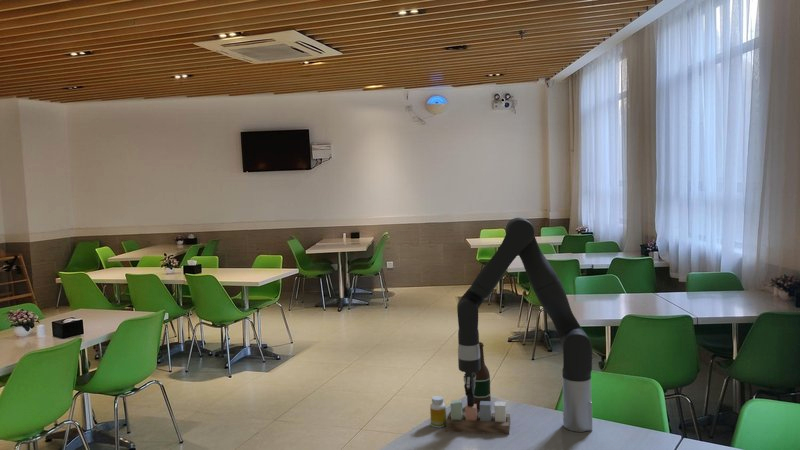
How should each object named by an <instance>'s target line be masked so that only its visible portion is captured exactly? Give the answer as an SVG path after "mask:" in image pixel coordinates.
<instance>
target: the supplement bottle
mask: <svg viewBox="0 0 800 450" xmlns="http://www.w3.org/2000/svg"><path fill="white" fill-rule="evenodd" d="M446 406H447V405H446V403H444V397H443V396H441V395H433V396H432V397H431V404H430V405H429V407H430V426H432V427H433V428H439V429H440V428H443V427H444V428H445V426H446V422H447V408H446Z"/></svg>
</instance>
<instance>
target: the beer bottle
mask: <svg viewBox="0 0 800 450" xmlns="http://www.w3.org/2000/svg"><path fill="white" fill-rule="evenodd" d="M479 347H480V365H481V369H480V370H479V371H477V372H474V374H476V379H475V382H476V386H475V390H474V391H475V393H474V404H477V410H480V401H491V398H492V397H491V375H490V370H489V368H488V367H487V365H486V364H485V356H484V343H483V342H481V341H479ZM491 402H492V401H491Z"/></svg>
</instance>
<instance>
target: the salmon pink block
mask: <svg viewBox="0 0 800 450" xmlns="http://www.w3.org/2000/svg"><path fill="white" fill-rule="evenodd" d="M464 412H465V420H469V421H477V413H478V409H477V404H474V406H468V405H467V403H466V404H465V407H464Z"/></svg>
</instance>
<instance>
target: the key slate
mask: <svg viewBox="0 0 800 450" xmlns="http://www.w3.org/2000/svg"><path fill="white" fill-rule="evenodd" d="M479 413H480V421H491V418H492V417H491V413H492V401H480V409H479Z"/></svg>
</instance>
